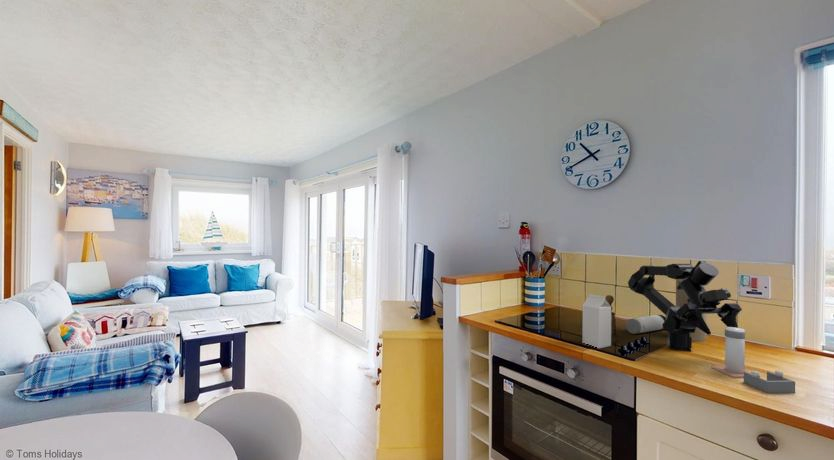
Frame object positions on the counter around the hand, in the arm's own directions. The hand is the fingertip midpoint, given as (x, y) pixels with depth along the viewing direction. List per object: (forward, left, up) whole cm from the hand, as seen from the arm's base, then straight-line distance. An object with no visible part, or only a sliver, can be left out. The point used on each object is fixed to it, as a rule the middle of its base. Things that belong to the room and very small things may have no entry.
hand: (723, 334), depth 117 cm
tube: (0, +34, -11) cm, 36 cm away
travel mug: (-21, +32, -8) cm, 39 cm away
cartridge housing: (+6, -13, -11) cm, 18 cm away
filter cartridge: (+2, -4, -10) cm, 11 cm away
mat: (+2, -4, -11) cm, 12 cm away
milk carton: (-36, +9, -11) cm, 39 cm away
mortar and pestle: (-31, +17, -11) cm, 37 cm away
